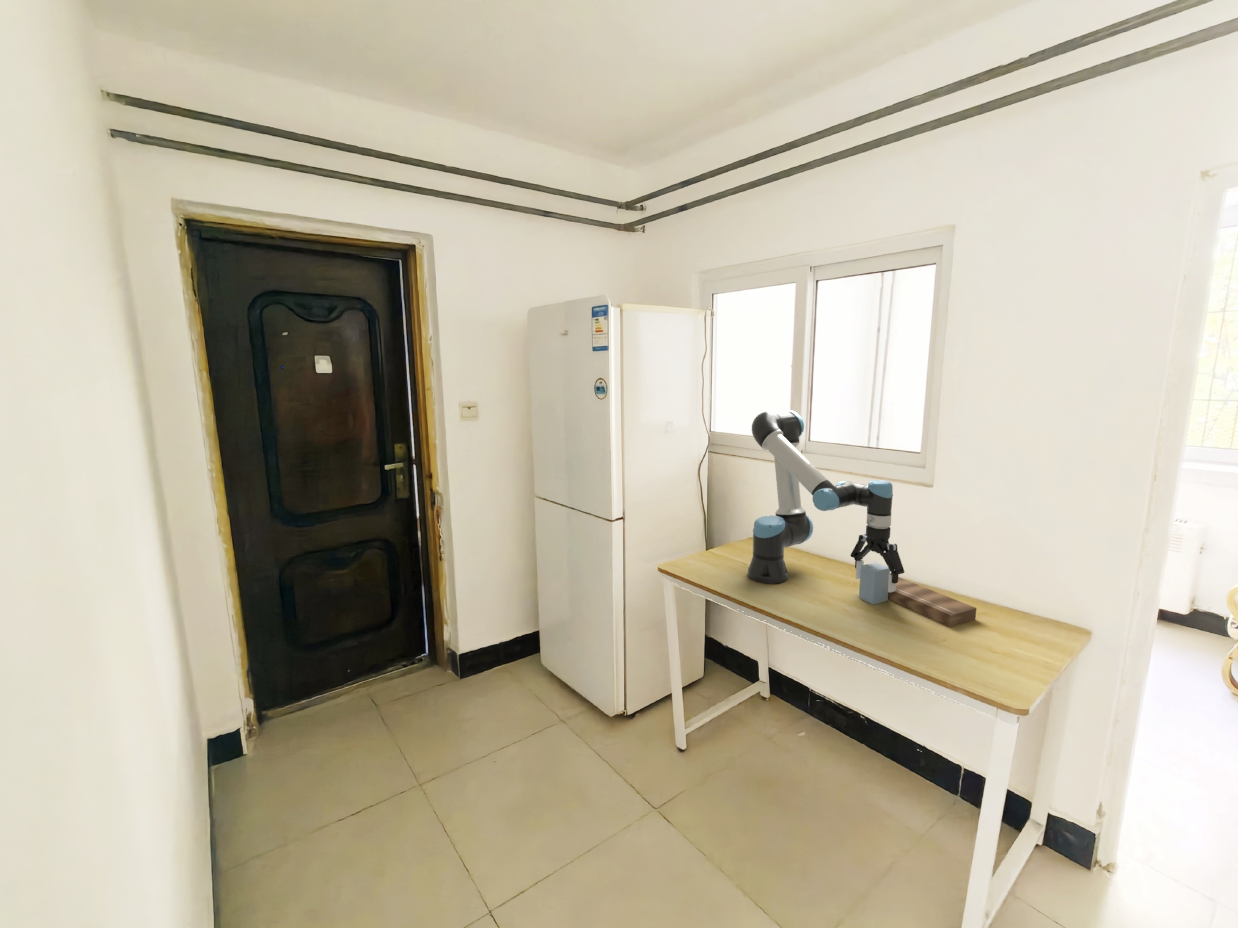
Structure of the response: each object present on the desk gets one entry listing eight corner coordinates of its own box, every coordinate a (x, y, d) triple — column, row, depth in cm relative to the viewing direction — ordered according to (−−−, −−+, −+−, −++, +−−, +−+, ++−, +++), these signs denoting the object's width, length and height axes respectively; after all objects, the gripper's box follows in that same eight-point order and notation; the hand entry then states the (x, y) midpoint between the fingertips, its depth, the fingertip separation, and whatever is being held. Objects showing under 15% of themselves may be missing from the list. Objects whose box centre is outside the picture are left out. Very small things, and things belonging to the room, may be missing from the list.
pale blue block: (858, 597, 188) (861, 565, 186) (881, 592, 192) (883, 560, 190) (872, 604, 182) (875, 571, 180) (895, 598, 187) (898, 566, 185)
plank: (870, 591, 193) (871, 580, 192) (894, 585, 197) (895, 575, 197) (950, 627, 166) (951, 614, 165) (975, 619, 170) (976, 607, 170)
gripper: (841, 518, 192) (839, 574, 195) (902, 536, 169) (898, 599, 173) (857, 516, 195) (854, 571, 198) (919, 533, 172) (914, 595, 175)
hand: (875, 584), depth 185 cm, fingers open, 13 cm apart
